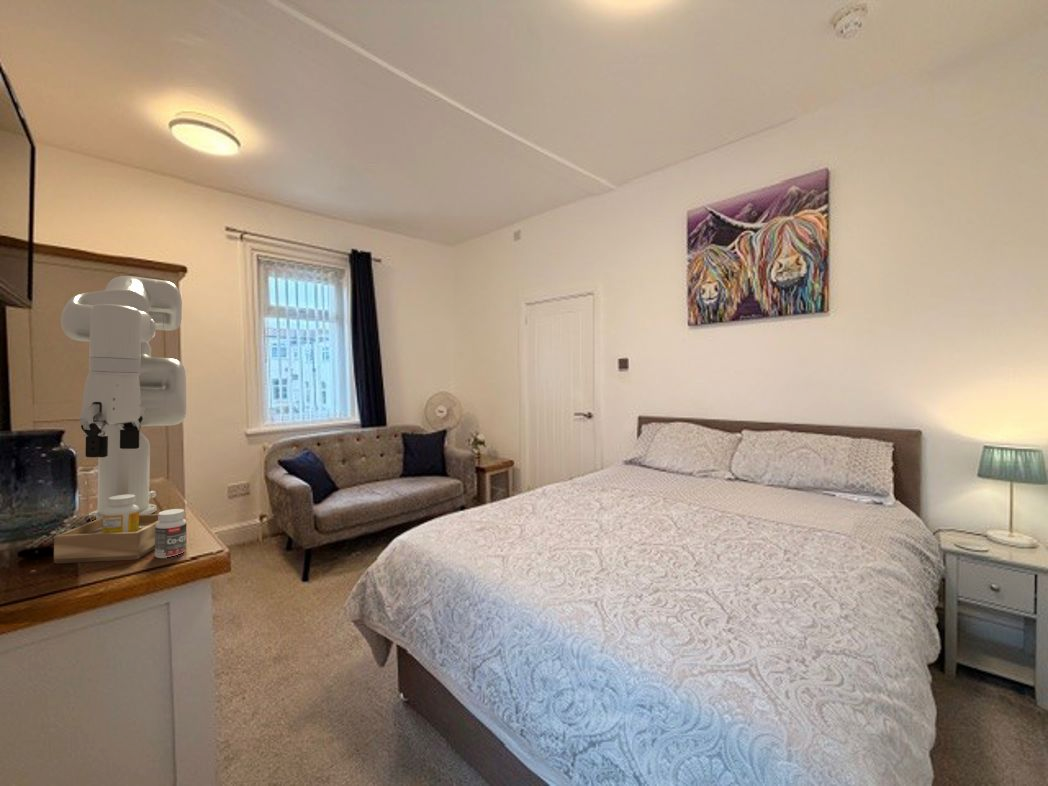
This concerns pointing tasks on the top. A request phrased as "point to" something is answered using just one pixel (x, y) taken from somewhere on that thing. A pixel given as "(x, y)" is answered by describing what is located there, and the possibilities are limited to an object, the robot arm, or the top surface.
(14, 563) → the top surface
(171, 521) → the pill bottle
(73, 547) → the oak box
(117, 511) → the supplement bottle
